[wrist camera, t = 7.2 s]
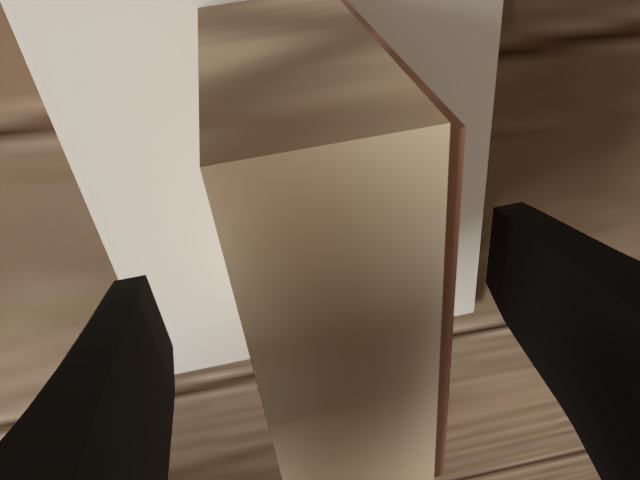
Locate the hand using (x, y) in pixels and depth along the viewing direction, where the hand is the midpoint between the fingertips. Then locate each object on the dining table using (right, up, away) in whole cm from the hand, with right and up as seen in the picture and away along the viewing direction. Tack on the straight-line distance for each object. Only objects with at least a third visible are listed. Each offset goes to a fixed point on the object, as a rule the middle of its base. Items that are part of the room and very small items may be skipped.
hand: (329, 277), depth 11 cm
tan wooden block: (-1, +3, +5) cm, 6 cm away
